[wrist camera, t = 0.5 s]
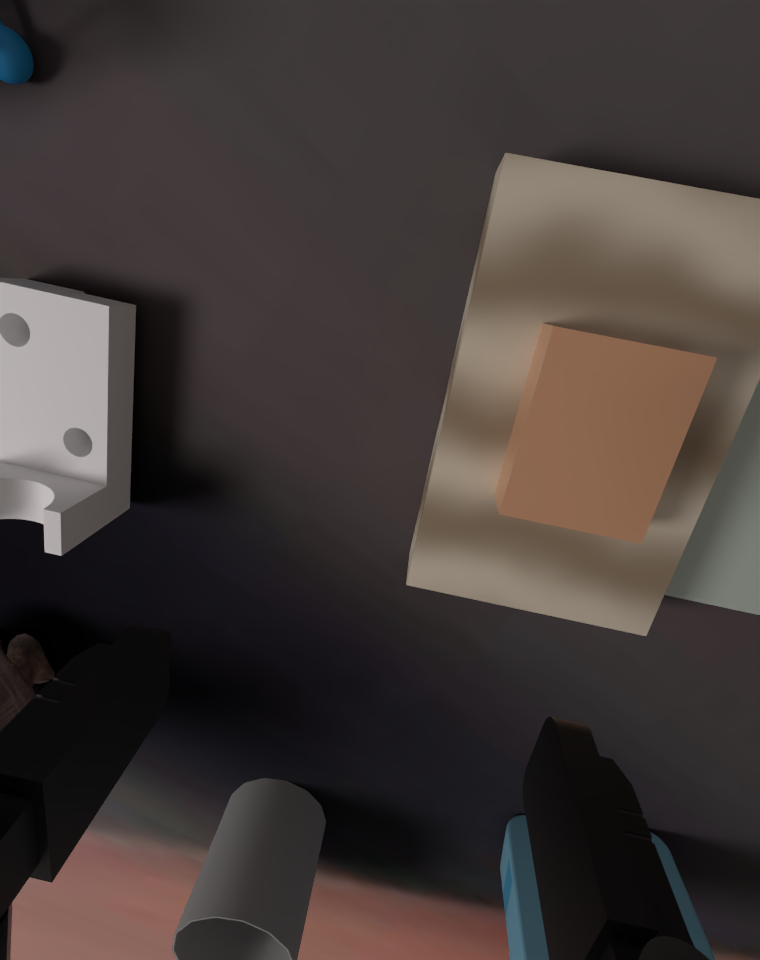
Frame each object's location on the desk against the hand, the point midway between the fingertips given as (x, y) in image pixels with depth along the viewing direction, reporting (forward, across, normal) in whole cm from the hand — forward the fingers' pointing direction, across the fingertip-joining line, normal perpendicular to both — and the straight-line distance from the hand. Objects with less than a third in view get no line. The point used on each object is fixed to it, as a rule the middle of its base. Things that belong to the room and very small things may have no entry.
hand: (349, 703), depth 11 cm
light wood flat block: (+22, -9, -3) cm, 24 cm away
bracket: (+22, +20, +2) cm, 30 cm away
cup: (+21, +4, +35) cm, 41 cm away
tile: (+16, -9, -3) cm, 19 cm away
